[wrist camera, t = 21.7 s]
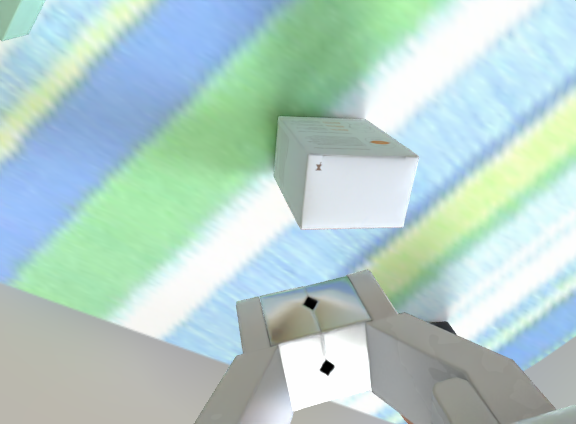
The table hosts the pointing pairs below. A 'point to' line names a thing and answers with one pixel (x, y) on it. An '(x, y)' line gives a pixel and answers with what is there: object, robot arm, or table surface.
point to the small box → (342, 173)
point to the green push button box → (18, 17)
